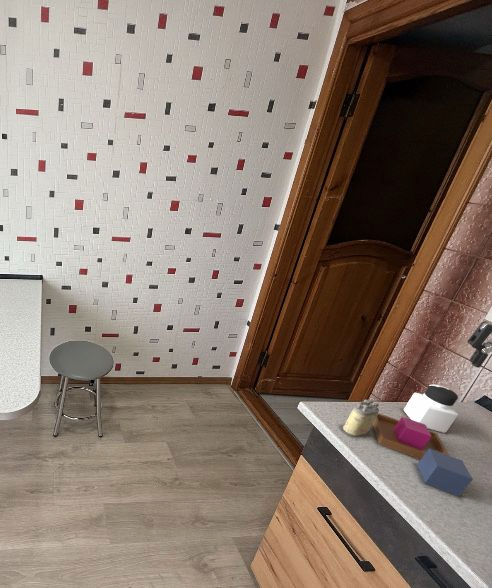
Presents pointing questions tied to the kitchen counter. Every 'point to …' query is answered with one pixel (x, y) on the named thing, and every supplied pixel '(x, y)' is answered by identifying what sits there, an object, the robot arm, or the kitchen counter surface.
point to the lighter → (361, 418)
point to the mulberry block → (412, 433)
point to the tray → (388, 438)
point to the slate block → (444, 472)
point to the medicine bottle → (433, 408)
